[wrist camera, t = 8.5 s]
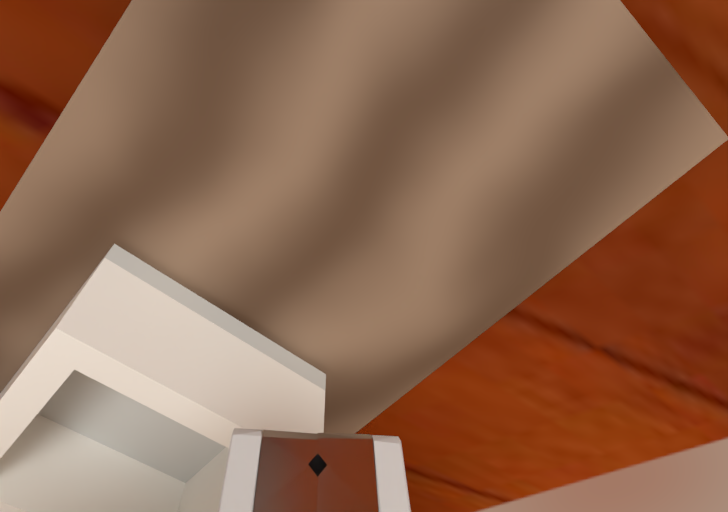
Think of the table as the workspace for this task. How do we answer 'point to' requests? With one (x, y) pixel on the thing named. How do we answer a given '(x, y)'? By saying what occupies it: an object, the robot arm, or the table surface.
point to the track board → (349, 171)
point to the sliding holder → (143, 398)
